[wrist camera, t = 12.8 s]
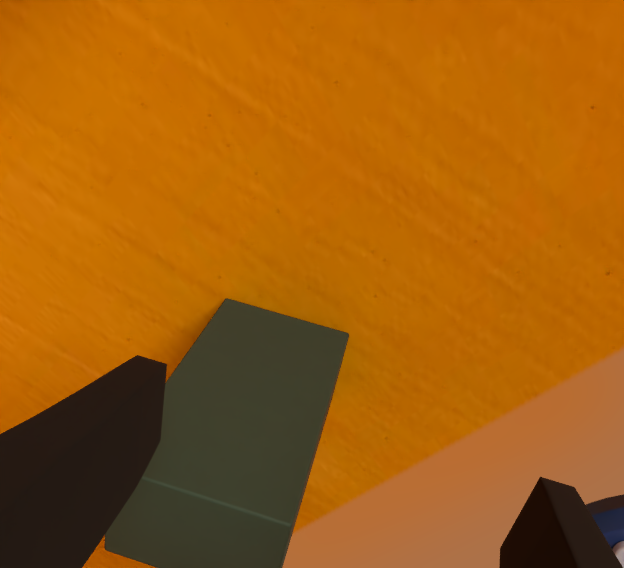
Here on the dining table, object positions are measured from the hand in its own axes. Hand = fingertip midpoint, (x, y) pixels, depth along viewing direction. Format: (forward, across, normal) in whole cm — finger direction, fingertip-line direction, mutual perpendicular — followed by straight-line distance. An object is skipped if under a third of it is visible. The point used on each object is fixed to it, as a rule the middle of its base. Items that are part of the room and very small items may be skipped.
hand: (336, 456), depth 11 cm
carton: (+6, +3, +4) cm, 8 cm away
